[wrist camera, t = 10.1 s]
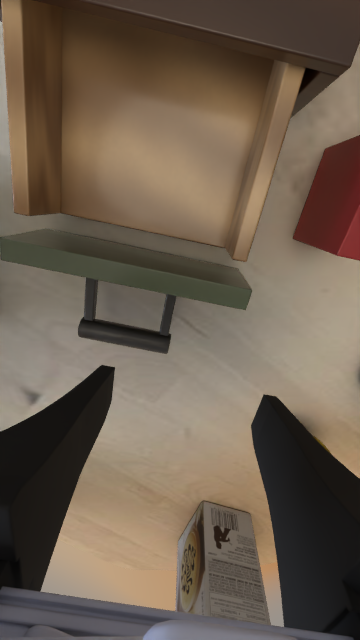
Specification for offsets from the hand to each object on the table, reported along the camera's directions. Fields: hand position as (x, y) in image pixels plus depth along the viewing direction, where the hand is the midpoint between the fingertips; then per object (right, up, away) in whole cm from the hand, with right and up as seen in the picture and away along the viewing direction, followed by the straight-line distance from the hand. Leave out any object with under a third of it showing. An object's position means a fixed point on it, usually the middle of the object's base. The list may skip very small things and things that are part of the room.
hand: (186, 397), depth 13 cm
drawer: (-2, +11, +4) cm, 12 cm away
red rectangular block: (+9, +12, +5) cm, 15 cm away
